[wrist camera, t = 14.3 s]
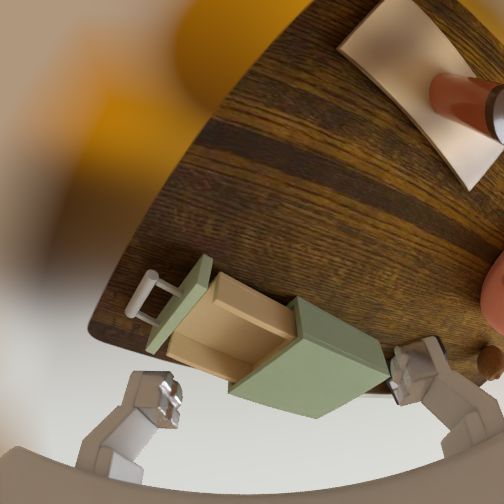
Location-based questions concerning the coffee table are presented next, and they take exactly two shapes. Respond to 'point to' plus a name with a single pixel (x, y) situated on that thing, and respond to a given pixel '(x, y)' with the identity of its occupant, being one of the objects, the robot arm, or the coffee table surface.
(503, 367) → the fruit
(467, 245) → the coffee table surface
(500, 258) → the teapot
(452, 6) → the coffee table surface
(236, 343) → the drawer
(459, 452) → the robot arm
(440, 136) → the board
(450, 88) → the spice jar
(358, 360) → the cabinet
